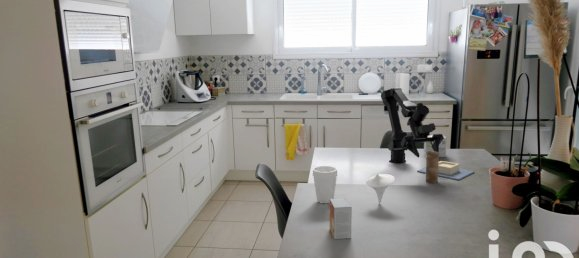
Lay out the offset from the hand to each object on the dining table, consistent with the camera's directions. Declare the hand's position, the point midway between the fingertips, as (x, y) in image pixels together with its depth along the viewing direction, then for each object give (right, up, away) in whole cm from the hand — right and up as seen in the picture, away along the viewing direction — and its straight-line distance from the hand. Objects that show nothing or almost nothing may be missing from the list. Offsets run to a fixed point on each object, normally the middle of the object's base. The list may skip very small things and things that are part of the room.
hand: (428, 156), depth 188 cm
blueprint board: (+12, -8, +12) cm, 18 cm away
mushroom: (-27, -16, -27) cm, 41 cm away
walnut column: (+1, -11, -1) cm, 11 cm away
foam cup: (-48, -16, -23) cm, 55 cm away
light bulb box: (+17, -3, +43) cm, 46 cm away
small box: (-45, -22, -52) cm, 72 cm away
